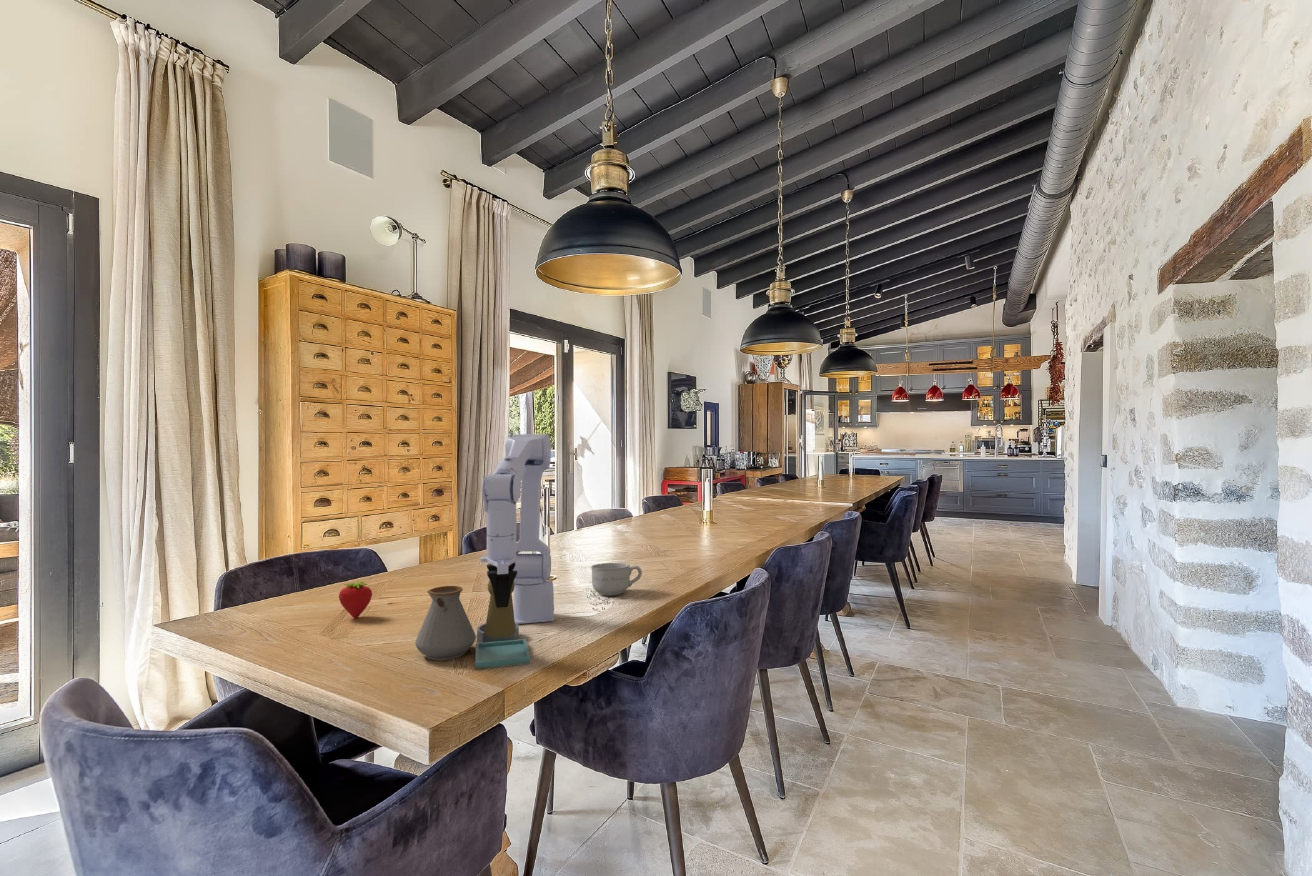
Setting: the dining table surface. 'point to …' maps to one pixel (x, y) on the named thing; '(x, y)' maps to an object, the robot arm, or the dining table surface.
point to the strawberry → (355, 598)
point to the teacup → (613, 577)
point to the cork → (500, 617)
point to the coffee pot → (445, 626)
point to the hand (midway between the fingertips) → (501, 603)
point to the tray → (501, 653)
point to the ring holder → (483, 638)
